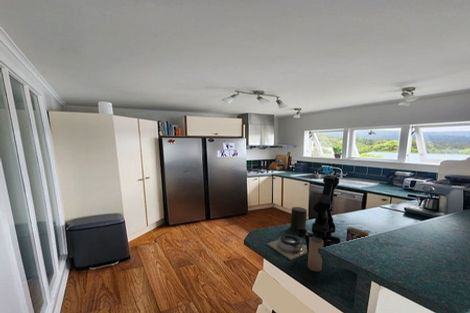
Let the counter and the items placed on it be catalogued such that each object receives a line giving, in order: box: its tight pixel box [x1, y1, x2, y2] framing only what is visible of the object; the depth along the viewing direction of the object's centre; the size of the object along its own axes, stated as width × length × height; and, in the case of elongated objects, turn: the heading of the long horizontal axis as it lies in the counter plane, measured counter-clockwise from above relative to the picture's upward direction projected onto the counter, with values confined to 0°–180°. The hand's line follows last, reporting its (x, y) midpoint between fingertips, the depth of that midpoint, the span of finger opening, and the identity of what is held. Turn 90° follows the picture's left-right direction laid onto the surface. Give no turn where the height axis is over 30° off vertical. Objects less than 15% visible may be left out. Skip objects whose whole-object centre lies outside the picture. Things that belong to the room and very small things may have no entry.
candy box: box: [345, 226, 370, 242], centre depth 103 cm, size 9×4×15 cm, turn 47°
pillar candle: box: [289, 206, 308, 232], centre depth 138 cm, size 10×10×15 cm
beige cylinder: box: [307, 236, 324, 272], centre depth 96 cm, size 6×6×14 cm
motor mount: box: [267, 234, 309, 261], centre depth 113 cm, size 17×17×5 cm
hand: (314, 255), depth 94 cm, fingers closed on beige cylinder, 6 cm apart
